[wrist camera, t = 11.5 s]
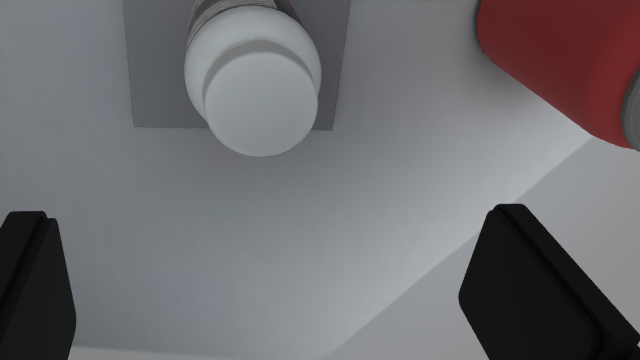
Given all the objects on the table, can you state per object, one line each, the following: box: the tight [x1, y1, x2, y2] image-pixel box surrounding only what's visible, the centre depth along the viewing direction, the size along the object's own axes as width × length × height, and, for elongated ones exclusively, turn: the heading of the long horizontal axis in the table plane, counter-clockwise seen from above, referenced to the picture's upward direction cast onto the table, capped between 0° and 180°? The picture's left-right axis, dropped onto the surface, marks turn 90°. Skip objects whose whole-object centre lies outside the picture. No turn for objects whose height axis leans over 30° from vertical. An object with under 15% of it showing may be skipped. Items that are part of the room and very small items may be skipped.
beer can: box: [478, 0, 640, 152], centre depth 24 cm, size 7×7×12 cm
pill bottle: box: [184, 0, 321, 157], centre depth 21 cm, size 5×5×10 cm
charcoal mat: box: [123, 0, 350, 130], centre depth 26 cm, size 11×11×1 cm
